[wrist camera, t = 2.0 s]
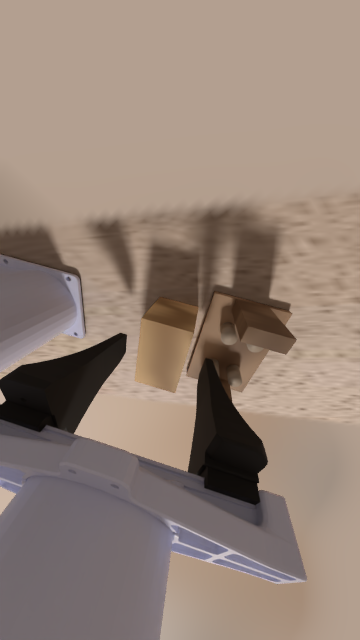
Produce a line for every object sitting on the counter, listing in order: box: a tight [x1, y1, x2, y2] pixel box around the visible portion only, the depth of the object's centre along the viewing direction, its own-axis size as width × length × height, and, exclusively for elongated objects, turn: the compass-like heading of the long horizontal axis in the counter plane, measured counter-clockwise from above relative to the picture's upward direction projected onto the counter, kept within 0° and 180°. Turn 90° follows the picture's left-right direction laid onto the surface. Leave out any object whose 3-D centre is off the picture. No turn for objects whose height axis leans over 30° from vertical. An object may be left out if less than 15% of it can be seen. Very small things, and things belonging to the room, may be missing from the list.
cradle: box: [186, 291, 296, 402], centre depth 15 cm, size 7×11×6 cm, turn 168°
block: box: [135, 297, 198, 393], centre depth 15 cm, size 4×7×5 cm, turn 168°
